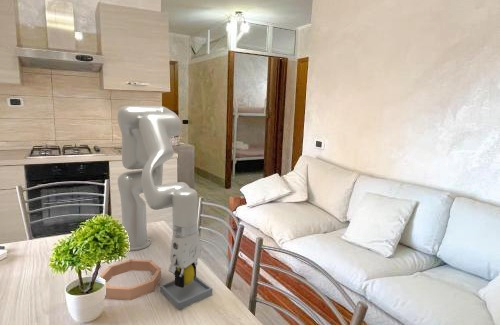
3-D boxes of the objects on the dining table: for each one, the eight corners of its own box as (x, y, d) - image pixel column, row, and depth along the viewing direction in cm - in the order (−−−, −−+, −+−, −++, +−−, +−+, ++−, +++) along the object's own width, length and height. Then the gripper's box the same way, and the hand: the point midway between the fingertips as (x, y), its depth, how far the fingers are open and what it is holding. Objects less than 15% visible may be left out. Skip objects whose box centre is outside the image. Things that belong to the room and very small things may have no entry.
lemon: (190, 291, 101) (190, 267, 100) (174, 288, 102) (173, 265, 101) (197, 281, 107) (197, 259, 105) (181, 279, 108) (180, 256, 106)
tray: (160, 291, 105) (160, 285, 105) (192, 278, 113) (192, 273, 113) (179, 310, 97) (179, 303, 96) (212, 294, 104) (212, 288, 104)
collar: (93, 280, 110) (92, 271, 110) (145, 263, 123) (144, 254, 122) (113, 306, 97) (112, 296, 96) (169, 284, 109) (169, 275, 109)
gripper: (177, 241, 91) (178, 299, 95) (210, 221, 107) (210, 271, 110) (156, 235, 95) (158, 291, 98) (191, 217, 110) (192, 266, 113)
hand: (185, 280), depth 104 cm, fingers closed on lemon, 5 cm apart
